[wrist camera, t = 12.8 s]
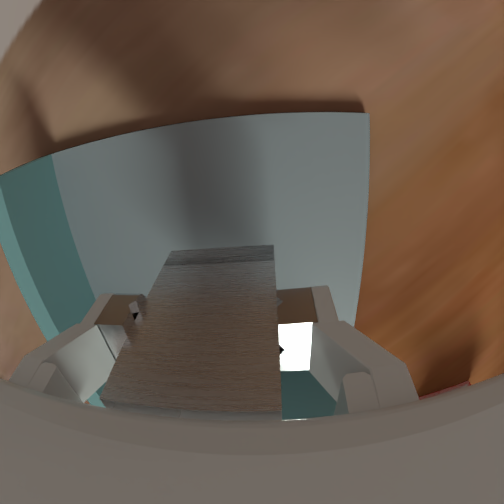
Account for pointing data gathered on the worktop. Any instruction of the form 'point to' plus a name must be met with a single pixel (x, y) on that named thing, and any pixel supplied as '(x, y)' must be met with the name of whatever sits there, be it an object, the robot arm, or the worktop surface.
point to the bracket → (204, 340)
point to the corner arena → (193, 215)
